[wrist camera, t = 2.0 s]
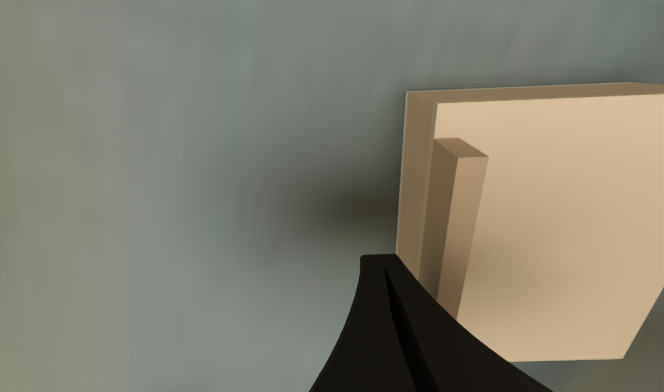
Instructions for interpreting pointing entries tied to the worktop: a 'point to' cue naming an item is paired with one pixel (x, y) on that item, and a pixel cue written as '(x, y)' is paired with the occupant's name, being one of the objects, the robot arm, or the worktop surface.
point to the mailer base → (419, 139)
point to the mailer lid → (546, 221)
